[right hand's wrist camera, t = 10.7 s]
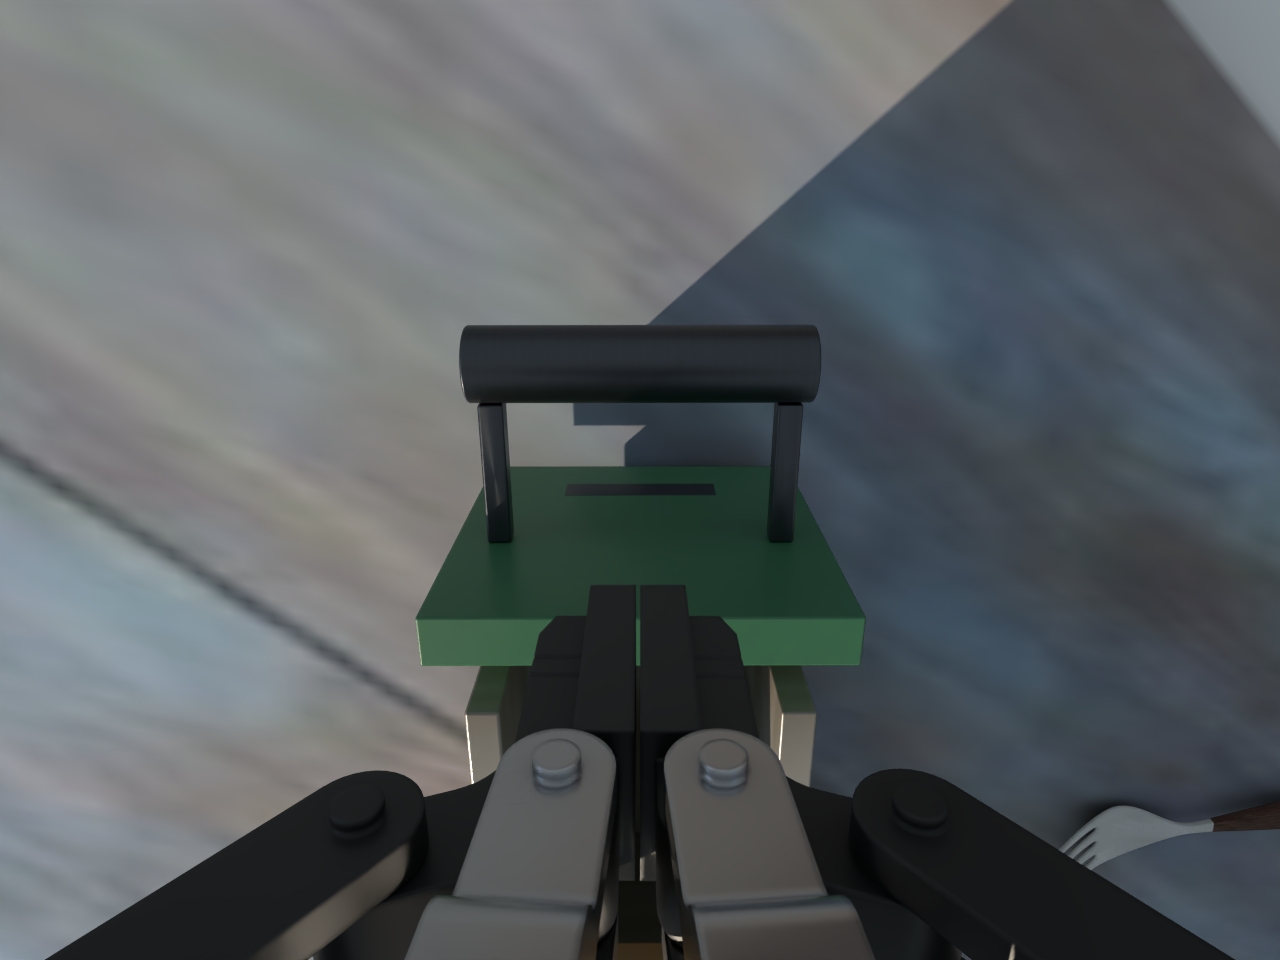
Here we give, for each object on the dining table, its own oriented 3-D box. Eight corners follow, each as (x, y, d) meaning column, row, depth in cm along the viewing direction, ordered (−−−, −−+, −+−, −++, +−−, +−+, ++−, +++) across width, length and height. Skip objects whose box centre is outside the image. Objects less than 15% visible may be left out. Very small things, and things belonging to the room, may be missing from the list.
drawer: (480, 294, 23) (384, 362, 14) (799, 294, 23) (896, 361, 14) (518, 825, 30) (469, 1086, 22) (762, 825, 30) (812, 1085, 22)
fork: (1438, 806, 31) (1489, 846, 29) (1028, 865, 32) (1052, 908, 30) (1449, 753, 30) (1503, 791, 28) (1027, 816, 31) (1051, 857, 29)
